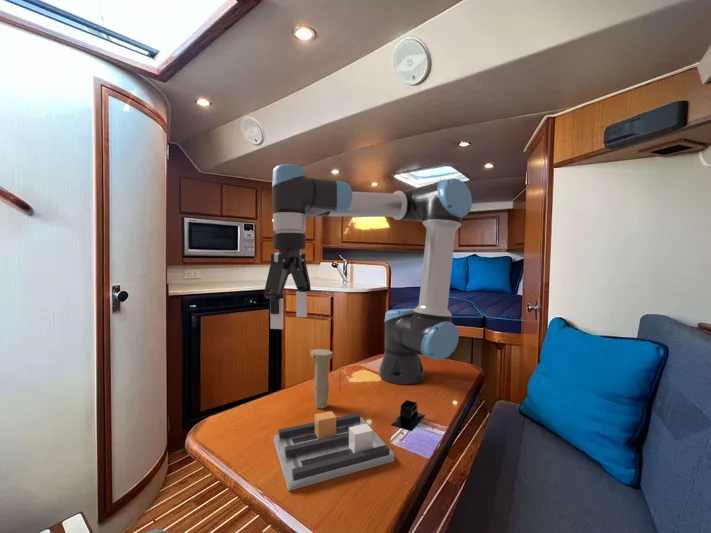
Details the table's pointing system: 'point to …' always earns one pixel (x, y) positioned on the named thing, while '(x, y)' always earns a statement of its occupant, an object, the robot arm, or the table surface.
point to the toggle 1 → (325, 424)
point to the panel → (323, 456)
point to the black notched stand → (408, 416)
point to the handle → (321, 376)
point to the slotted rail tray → (326, 442)
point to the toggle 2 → (360, 438)
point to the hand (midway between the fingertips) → (290, 322)
